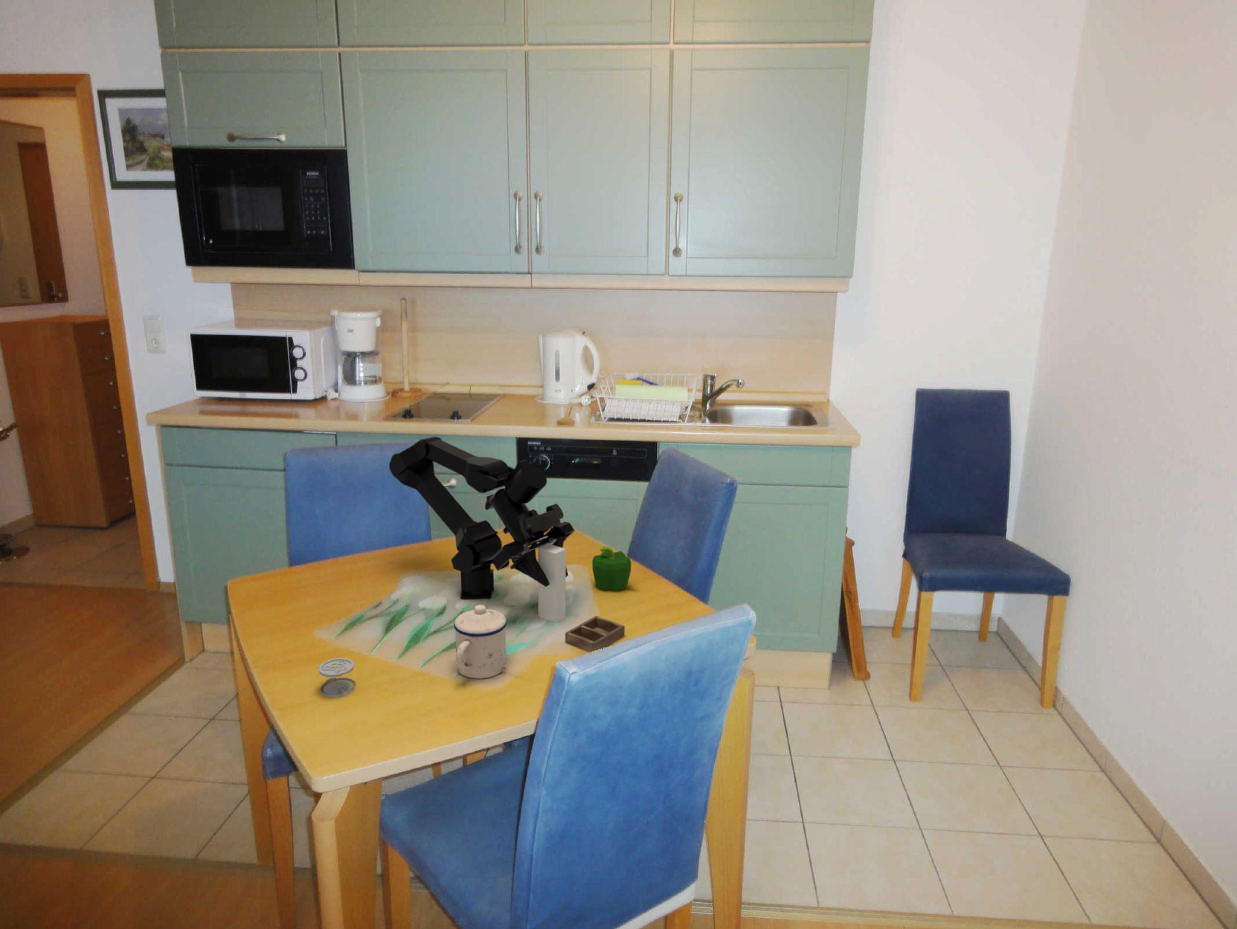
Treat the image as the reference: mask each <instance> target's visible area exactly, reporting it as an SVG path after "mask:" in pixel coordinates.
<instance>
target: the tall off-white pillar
mask: <svg viewBox="0 0 1237 929" xmlns="http://www.w3.org/2000/svg"><path fill="white" fill-rule="evenodd" d="M566 550H567V549H566V548H561V547H557V546H554V545H551V544H546V545H544V546H541V547H539V548H537V561H538V563H539V565H540V566H541V568H542V570H543V571H544V573H545V575H546V577H547V579H548V581H549V583H550V584H549V585H548V586H547V587H545V586H544V585H542V584H540V583H539V582H537V585H538V586H537V588H538V589H537V590H538V593H537V596H538V598H537V600H538V601H537V604H538V605H537V607H538V610H537V611H538V612H537V613H538V616H537V617H539V618H541V619H543V620H546V621H549V622H552V623H555V624H557V623H559V622H560V621H562V620H564V619H565V618H566V603H567V602H566V601H567V600H566V597H567V596H566V595H567V594H566V593H567V591H566V590H567V589H566V586H567V585H566V583H567V582H566V579H567V577H566V568H567V562H566V561H567V560H566V558H567V556H566V555H567V551H566Z"/></svg>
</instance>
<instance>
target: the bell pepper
mask: <svg viewBox="0 0 1237 929" xmlns="http://www.w3.org/2000/svg"><path fill="white" fill-rule="evenodd" d="M599 549H600V552H601V553H600V554H599V555H594V557H593V558H592V560H591V561H592V565H591V566H592V567H591V568H592V574H593V578H594V582H595V585H596V589H598V590H600V591H604V592H605V591H606V592H608V591H611V592H619V591H624V590H625V589H626V588H627V586H628V584H629V581H630V575H631V572H632V561H631V559H630V557H629V556H627V555H626V554H625V553H624V552H623V551H622V550H620V551H619V550H618V551H614V552H613V549H612V548H609V547H608V546H602V547H600V548H599Z"/></svg>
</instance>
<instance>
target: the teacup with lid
mask: <svg viewBox="0 0 1237 929" xmlns="http://www.w3.org/2000/svg"><path fill="white" fill-rule="evenodd" d="M507 623H508V621H507V619H506V616H505V615H504V614H503V613H501V612H499V611H498V610H495V609H490V608H489V609H488V608H486V606H485V605H484V604H478V605H476V606H475V607H474V609H471V610H468V611H465V612H463V613H461V614H459V615H458V616H457V617H456V618H455V621H454V622H453V627H454V628H453V629H454V630H455V650H456V651H455V652H456V654H455V662H456V668H457V671H458V672H459V674H460V675H462V676H465V678H470V679H481V680H482V679H488V678H491V677H492V678H493V677H494V676H497V675H499V674H500V673H502V672H503V671H504V670H505V669H506V667H505V666H506V663H507V648H506V647H507V642H506V641H507V639H506V638H507V637H506V634H507V632H506V627H507V625H508V624H507Z"/></svg>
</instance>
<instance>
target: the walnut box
mask: <svg viewBox="0 0 1237 929" xmlns="http://www.w3.org/2000/svg"><path fill="white" fill-rule="evenodd" d="M625 626H626V625H623V624H620V623H617V622H615V621H611V620H610V619H607V618H603V617H602V616H601V617H600V616H597V615H595V616H593V617H591V618H589V619H587V620H586V621H584V622H582V623H581V624H579V625H577V626H575V627H574V628H571V629H570V630H568V631H566V632H564V633H565V634H564V638H565V640H564V643H565V644H567V645H570V646H572V647H575V648H577V649H580V650H583V651H585V652H587V653H590V652H592V651H595V650H598V649H601V648H603V647H605V648H607V647H609V646H611V645H612V644H613V643H615V642H617V641H618V640H620V639H622V638H624V637H625V635H626V634H625V631H626V630H625V628H626V627H625Z"/></svg>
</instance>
